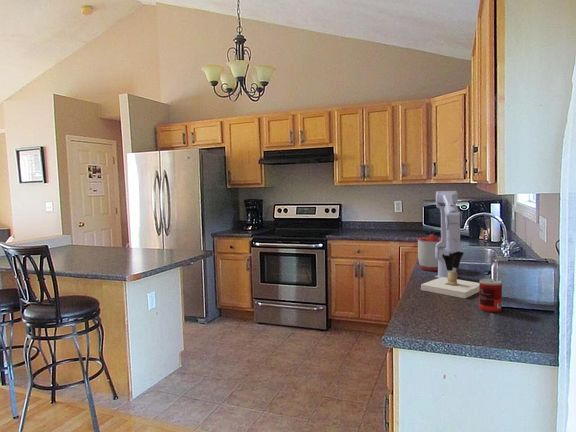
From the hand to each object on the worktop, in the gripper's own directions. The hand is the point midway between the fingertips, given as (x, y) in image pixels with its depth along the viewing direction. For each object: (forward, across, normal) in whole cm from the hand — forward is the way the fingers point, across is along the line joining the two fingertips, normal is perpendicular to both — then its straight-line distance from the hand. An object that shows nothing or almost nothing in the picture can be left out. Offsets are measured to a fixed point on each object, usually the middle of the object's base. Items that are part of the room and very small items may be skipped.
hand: (452, 269), depth 182 cm
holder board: (+9, 0, 0) cm, 9 cm away
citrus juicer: (+10, -36, -26) cm, 46 cm away
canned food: (+10, +19, +22) cm, 31 cm away
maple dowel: (+9, 0, 0) cm, 9 cm away
